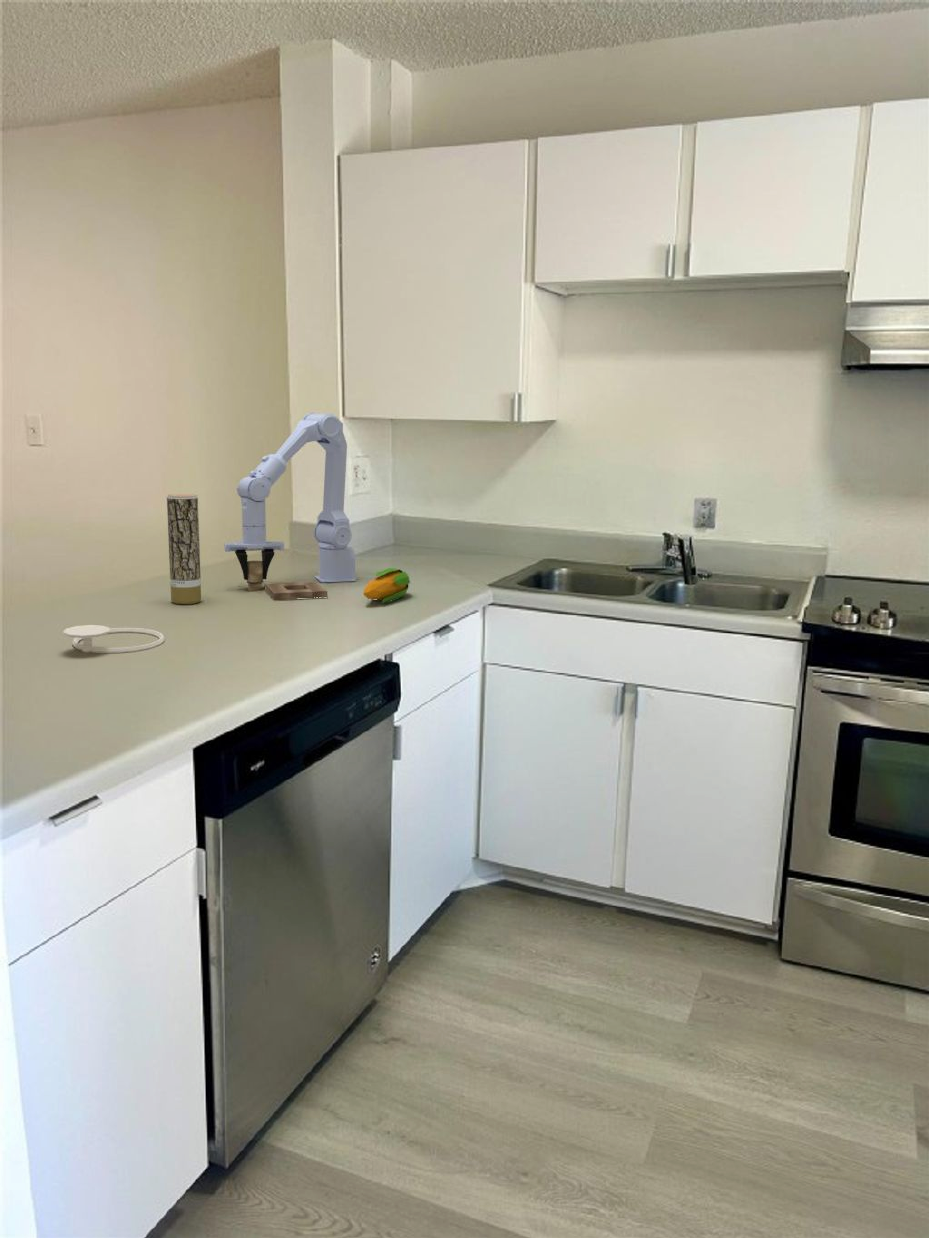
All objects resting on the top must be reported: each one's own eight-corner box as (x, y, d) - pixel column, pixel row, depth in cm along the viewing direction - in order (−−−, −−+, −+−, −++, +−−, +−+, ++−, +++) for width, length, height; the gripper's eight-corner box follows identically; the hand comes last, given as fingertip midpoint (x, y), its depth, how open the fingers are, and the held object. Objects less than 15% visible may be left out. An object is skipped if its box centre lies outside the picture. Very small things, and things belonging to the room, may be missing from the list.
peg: (262, 587, 235) (261, 560, 233) (264, 590, 231) (264, 563, 230) (245, 587, 233) (245, 560, 232) (248, 591, 230) (247, 563, 228)
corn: (416, 564, 231) (380, 577, 212) (417, 594, 232) (382, 609, 214) (389, 564, 233) (352, 576, 215) (391, 593, 235) (354, 608, 217)
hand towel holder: (182, 618, 182) (105, 641, 163) (183, 640, 183) (106, 664, 164) (117, 608, 188) (35, 628, 170) (117, 629, 189) (36, 651, 171)
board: (316, 588, 235) (316, 581, 235) (327, 598, 224) (327, 591, 224) (265, 591, 230) (265, 583, 230) (274, 600, 220) (274, 593, 219)
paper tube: (192, 606, 211) (188, 497, 205) (165, 604, 212) (160, 495, 207) (206, 600, 218) (203, 494, 212) (180, 598, 219) (176, 493, 213)
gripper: (280, 522, 235) (280, 575, 238) (222, 523, 230) (223, 577, 233) (285, 526, 229) (286, 580, 232) (226, 527, 223) (227, 582, 226)
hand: (255, 578), depth 232 cm, fingers closed on peg, 4 cm apart
